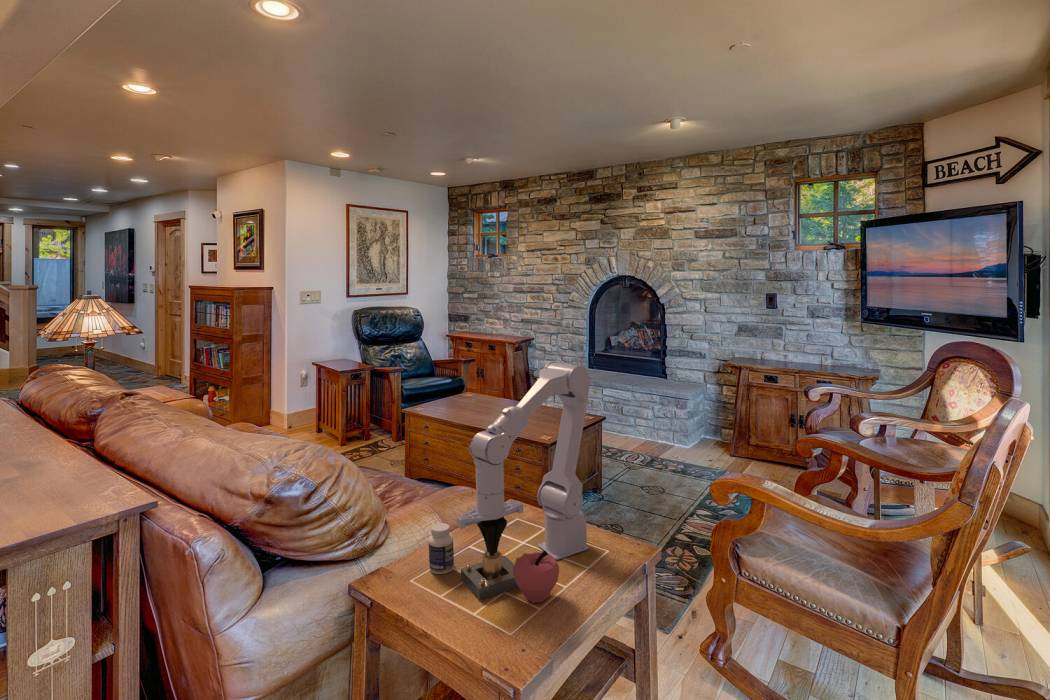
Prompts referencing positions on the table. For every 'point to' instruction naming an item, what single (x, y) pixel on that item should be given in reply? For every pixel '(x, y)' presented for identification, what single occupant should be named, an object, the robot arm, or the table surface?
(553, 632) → the table surface
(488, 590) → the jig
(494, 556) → the brass cylinder
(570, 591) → the table surface
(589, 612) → the table surface
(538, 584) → the apple
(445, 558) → the pill bottle
